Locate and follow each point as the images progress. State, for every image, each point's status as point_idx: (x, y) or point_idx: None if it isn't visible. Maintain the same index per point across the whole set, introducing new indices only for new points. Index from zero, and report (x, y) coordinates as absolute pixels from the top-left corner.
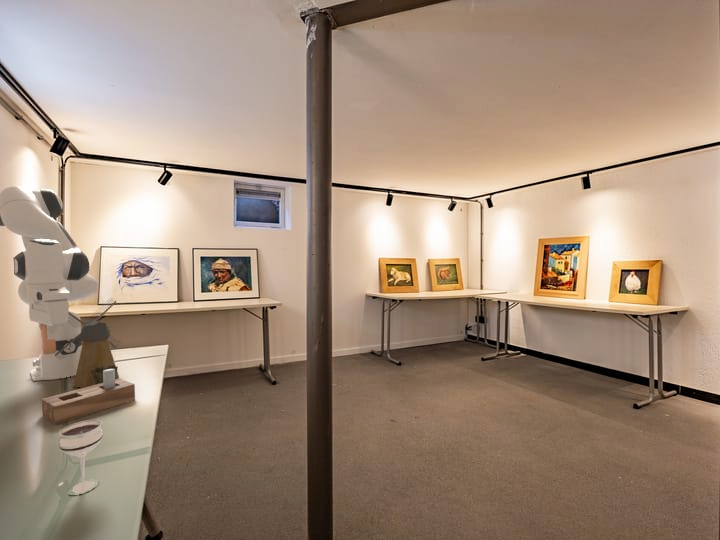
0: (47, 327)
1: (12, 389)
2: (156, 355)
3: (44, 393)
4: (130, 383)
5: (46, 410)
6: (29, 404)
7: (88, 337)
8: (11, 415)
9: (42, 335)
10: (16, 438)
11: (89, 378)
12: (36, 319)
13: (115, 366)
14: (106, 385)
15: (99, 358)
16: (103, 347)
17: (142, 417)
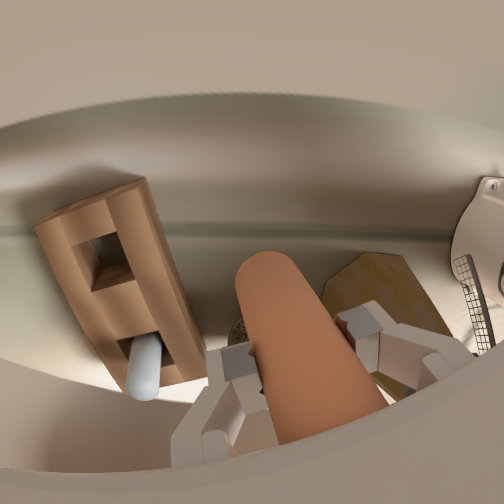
0: (201, 441)
1: (461, 131)
2: None
3: (374, 186)
4: None
5: (106, 194)
6: (298, 146)
7: None
8: (226, 103)
9: (296, 330)
10: (28, 137)
11: (340, 302)
12: (485, 387)
13: None
14: (131, 350)
15: None
16: (389, 391)
17: (17, 352)
